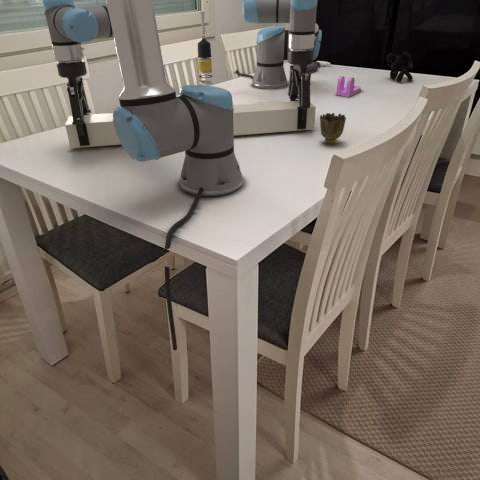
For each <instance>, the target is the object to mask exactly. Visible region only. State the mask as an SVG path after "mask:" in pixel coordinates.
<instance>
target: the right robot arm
mask: <svg viewBox="0 0 480 480" xmlns="http://www.w3.org/2000/svg"><path fill="white" fill-rule="evenodd" d="M317 8H318V0H242V18H243V21H244V22H245V23H247V24H256V25H259V24H289V29H286V27H285V25H275V26H268V27H264V28H260V29H259V30H258V31H257V33H256V41H255V43H256V66H255V71H254V75H252V74H248V73H247V74H246V73H240V71H239V69H236V70H235V72H234V73H235V74H237V75H238V76H241V77H248V78H251V79H252V82H251V83H252V87H254V88H257V89H261V90H277V89H282V88H285V87H287V86H288V90H287V96H288V98H289V101H299V107H297V109H298V121H297V129H306V121H307V108H310V103H311V77H312V72H311V73H308V70H307V65H308V64H312V63H313V62H314V60H316V59H317V58H318V56H319V53H320V49H321V42H322V36H323V33H322V32H323V31H322V30H321V29H319V25H318V23H317V10H318V9H317ZM284 61H287V62H288V64H289V79H287V74H286V71H285V67H284V65H285V63H284Z"/></svg>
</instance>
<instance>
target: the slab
mask: <svg viewBox="0 0 480 480" xmlns="http://www.w3.org/2000/svg"><path fill="white" fill-rule="evenodd" d="M297 107H299V101H290V100H288V101H287V100H285V101H272V102H257V103H243V104H233V109H234V111H233V129H234V136H244V135H247V136H248V135H258V134H259V135H260V134H270V133H272V134H273V133H284V132H296V131H309V130H315V122H316V110H317V109H316V108H317V107H316V105H314V104H313V103H311V102H310V108H307V121H306V129H297V121H298V109H297ZM83 116H84V121H85V123H86V128H87V133H88V138H89V142H90V145H88V146H80V143H79V139H78V134H77V129H76V125H73V124H72V122H73V116H72V115H69V116H68V117H67V120H66V122H65V123H64V127H65V130H66V134H67V139H68V143H69V147H70V149H78V148H79V149H80V148H91V147H93V148H94V147H105V146H106V147H107V146H117V145H122V144H121V143H120V141H119V138H118V136H117V134H116V131H115V128H114V124H113V112H111V113H96V114H89V115H83Z"/></svg>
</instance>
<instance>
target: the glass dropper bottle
mask: <svg viewBox="0 0 480 480" xmlns="http://www.w3.org/2000/svg"><path fill="white" fill-rule="evenodd" d="M199 14H200V21H201V29H200V30H201V35H202V36H201V40H200V41H199V42H197V58H198V59H197V60H198V62H197V63H198V74H200V75H199V76H198V77H199V78H201V79H203V80H200V81H199V85H206V86H210V85H212V84H213V83H214V82H213V80H212V79H211V80H210V78H213V75H212V73H213V70H212V69H213V67H212V66H213V65H212V58H211V57H212V49H211V47H212V46H211V42H210V41H208V40H207V39H206V36H204V35H205V33H206V28H205V14H206V12H205V11H199Z"/></svg>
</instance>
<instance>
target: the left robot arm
mask: <svg viewBox="0 0 480 480" xmlns="http://www.w3.org/2000/svg"><path fill="white" fill-rule="evenodd" d="M153 1H154V0H105V2H106V5H105V4H104V5H93V6H92V5H91V6H79V7H76V6H75V3H74V0H42V5H43V11H44V12H43V14H44V15H45V20H46V23H47V28H48V33H49V37H50V41H51V47H52V51H53V55H54V60H55V61H56V68H57V73H58V75H59V77H61V78H66V79H67V83H66V91H67V94H68V100H69V105H70V109H71V116H73V122H72V124H73V125H76V129H77V134H78V139H79V143H80V146H88V145H90V142H89V138H88V133H87V128H86V123H85V121H84V116H83V115H90V114H92V110H91V109H90V106H89V103H88V99H87V95H86V90H85V86H84V81H83V77H84V76H86V75H87V73H88V71H87V66H86V61H85V60H84V57H85V56H84V51H85V47H84V46H82V43H83V44H84V43H85V44H86V43H90V42H92V41H95V40H103V39H110V38H113V40H114V46H115V50H116V55H117V59H118V64H119V65H118V66H119V69H120V70H119V71H120V73H121V74H120V75H121V79H122V83H123V88H122V91H121V92H120V94H119V96H118V101H119V106H118V107H116V108H115V109H114V111H113V112H112V113H113V124H114V128H115V131H116V134H117V136H118V138H119V141H120V143H121V144H120V145H121V146H122V148H123V150H124V151H125V152H126V153H127V155H128V156H129V157H131V158H132V159H133V160H135V161H136V162H139V163H144V162H150V161H157V160H159V159H161V158H166V157H169V156H172V155H175V154H179V153H183V152H184V154H185V155H184V158H183V164H182V168H181V171H180V177H179V178H180V179H179V183H180V184H179V185H180V188H181V189H182V191H184V192H186V193H187V194H190V195H194V196H195V197H194V199H193V202H192V204H191V205H190V208H189V210H188V212H187V213H186V214H185V215H184V217H182V218H181V219H180V220H178V221H176V222H175V223H174V224H173V225H172V226H171V227H170V228H169V229H168V231H167V233H166V237H165V244H164V249H165V250H169V249H170V248H171V241H172V236H173V233H174V232H175V231H176V229H177V228H178V227H180V226H182V225H183V224H184V223H186V222H187V221H188V220H189V219H190V218H191V216H192V215H193V213H194V211H195V209H196V207H197V204H198V203H199V200H200V199H201V197H221V196H224V195H229V194H232V193H234V192H235V191H237V190H239V189H240V188H241V187H242V185H243V174H242V171H241V167H240V163H239V161H238V160H237V157H236V154H235V135H234V129H233V111H234V109H233V105H234V102H233V96H232V93H231V91H229V90H227V89H225V88H223V87H218V86H213V85H202V84H187V85H183V86H181V87H180V88H179V92H178V94H179V95H178V96H177V94H176V93H177V92H176V89H175V88H174V87H173V86H172V85H170V84H169V83H168V82H167V78H166V71H165V66H164V59H163V54H162V48H161V42H160V37H159V30H158V24H157V19H156V13H155V8H154V7H155V6H154V2H153ZM170 273H171V271H170V267H169V266H164V284H165V297H166V307H167V315H168V322H169V329H170V335H171V344H172V351H177V350H178V344H177V342H178V341H177V336H176V335H177V333H176V326H175V320H174V312H173V304H172V292H171V274H170Z"/></svg>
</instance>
